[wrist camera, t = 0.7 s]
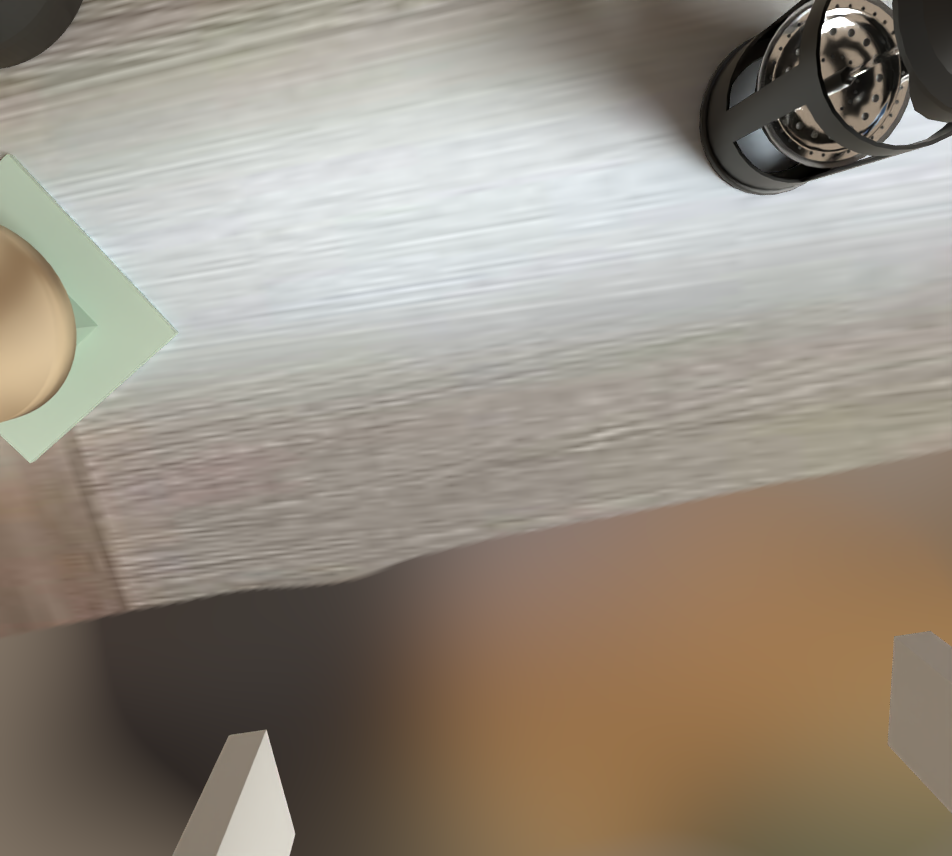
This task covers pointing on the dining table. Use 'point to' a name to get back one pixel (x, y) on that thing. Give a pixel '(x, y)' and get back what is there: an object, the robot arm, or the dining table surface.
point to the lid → (31, 328)
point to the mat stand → (78, 312)
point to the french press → (831, 88)
